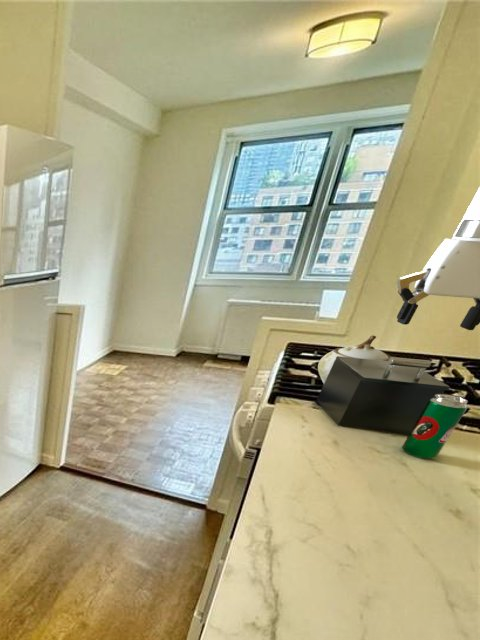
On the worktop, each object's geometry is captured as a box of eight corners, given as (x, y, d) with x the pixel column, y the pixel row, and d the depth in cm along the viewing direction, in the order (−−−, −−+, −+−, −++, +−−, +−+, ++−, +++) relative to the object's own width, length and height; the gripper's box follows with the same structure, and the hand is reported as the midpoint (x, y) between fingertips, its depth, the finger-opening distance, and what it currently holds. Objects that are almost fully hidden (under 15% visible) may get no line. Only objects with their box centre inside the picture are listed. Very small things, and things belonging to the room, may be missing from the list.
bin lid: (448, 390, 97) (462, 366, 95) (362, 381, 102) (373, 358, 100) (409, 366, 111) (420, 345, 108) (335, 359, 116) (344, 338, 113)
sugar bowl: (381, 410, 115) (413, 349, 108) (302, 394, 125) (328, 336, 118) (386, 389, 128) (415, 333, 121) (314, 376, 137) (338, 323, 130)
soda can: (436, 462, 93) (472, 405, 88) (400, 454, 96) (433, 398, 91) (434, 453, 97) (469, 397, 91) (400, 445, 100) (431, 391, 94)
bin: (417, 436, 103) (445, 389, 98) (338, 425, 108) (360, 379, 103) (385, 409, 116) (409, 366, 111) (315, 401, 121) (335, 359, 116)
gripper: (537, 232, 88) (480, 326, 96) (414, 228, 94) (370, 317, 102) (568, 235, 82) (504, 335, 90) (434, 231, 88) (386, 325, 96)
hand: (433, 325), depth 96 cm, fingers open, 9 cm apart
